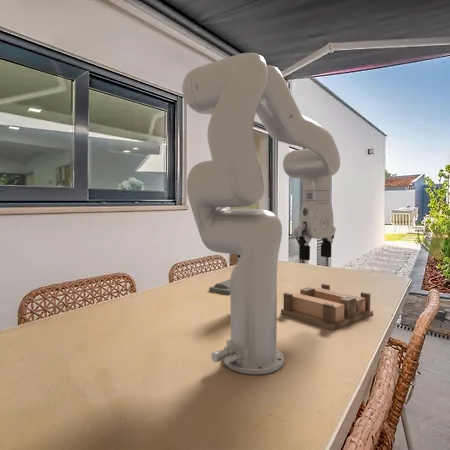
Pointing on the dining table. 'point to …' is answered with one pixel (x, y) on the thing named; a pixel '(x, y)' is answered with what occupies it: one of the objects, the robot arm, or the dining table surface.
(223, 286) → the soap mold
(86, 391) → the dining table surface
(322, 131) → the robot arm
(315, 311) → the slat
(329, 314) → the rack
